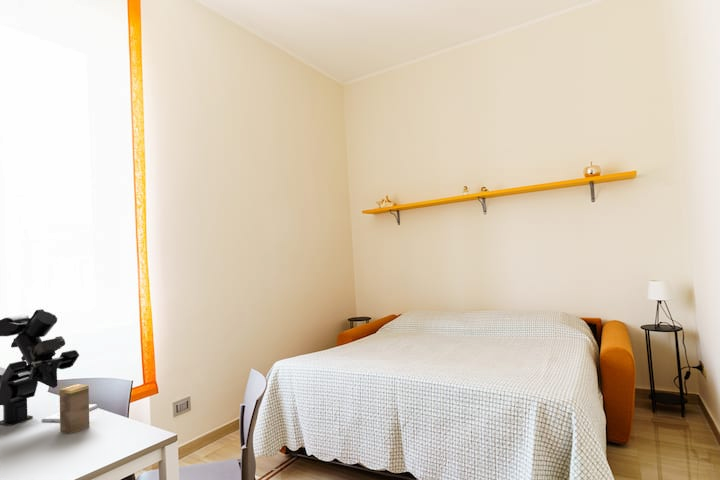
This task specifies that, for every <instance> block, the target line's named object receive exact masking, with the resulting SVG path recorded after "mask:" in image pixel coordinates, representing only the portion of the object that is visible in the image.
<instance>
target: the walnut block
mask: <svg viewBox="0 0 720 480" xmlns="http://www.w3.org/2000/svg"><path fill="white" fill-rule="evenodd" d="M89 387H90V386H89V385H88V384H78V383H77V384H73V385H70V386H67V387H63V388H59V412H60V422H59V428H60V429H59V431H60V433H63V434H68V435H73V434H76V433H78V432H81V431H84V430H86V429H88V428H90V411H89V404H90V391H89Z"/></svg>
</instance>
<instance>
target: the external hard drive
mask: <svg viewBox="0 0 720 480" xmlns="http://www.w3.org/2000/svg"><path fill="white" fill-rule="evenodd" d="M95 409H98V404H96V403H94V404H90V403H89V412H91V411H92V410H95ZM41 422H42V423H48V422H49V423H51V422H55V423H60V411H58V412H56V413H54V414H52V415H49V416H45V417H44V418H41Z"/></svg>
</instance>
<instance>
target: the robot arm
mask: <svg viewBox="0 0 720 480" xmlns="http://www.w3.org/2000/svg"><path fill="white" fill-rule="evenodd" d="M57 322H58V317H57V316H56V315H55V314H53V313H52V312H49V311H45V310H44V308H40V309H36V310H35V311H34V313H33V314H32V316H31V317H29V315H27V314H22V315H16V316H10V317H9V316H8V317H5V318H4V317H3V318H2V319H0V337H11V336H16V335H17V336H16V337H15V338H13V340H12V342H11V345H10V348H11V349H12V348H18V349H19V351H20V353H21V354H22V356H21V361H16V362H11V363H9V364H8V366H7V367H6V368H4V367H2V366H0V406H3V407H2V408H3V409H2V410H3V411H2V412H3V414H2V415H3V416H2V418H3V419H2V420H0V425H6V426H12V425H16V424H19V423H21V422H24V421H28V420H30V419H33V418H34V416H33V415H29V414H28V399H30V398H33V397H35V395H36V391H37V387H38V385H39V383H41V384H43V385H45V386H48V387H51V388H53V389H56V388H57V387H58V369H59V370H65V369H69V368H71V367H73V365H74V364H75V363H76V361H77V360H78V358H79V357H80V354H79V353H78V351H77V350H76V349H72V350H67V351H63V352H61V354H60V356H59V357H55V355H56V354H57V353H56V351H58V350H60V349H62V348H63V347H64V346H65V345H66V342H65V341H66V340H65V338H64V337H63V336H62V335H61V336H55V338H51V339H46V340H42V339H41V338H43V337H45V336H47V335H48V334H49V332H50V331H51V330H52V329H53V327H54V326H55V325H56V324H57ZM53 357H54V358H53Z"/></svg>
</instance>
